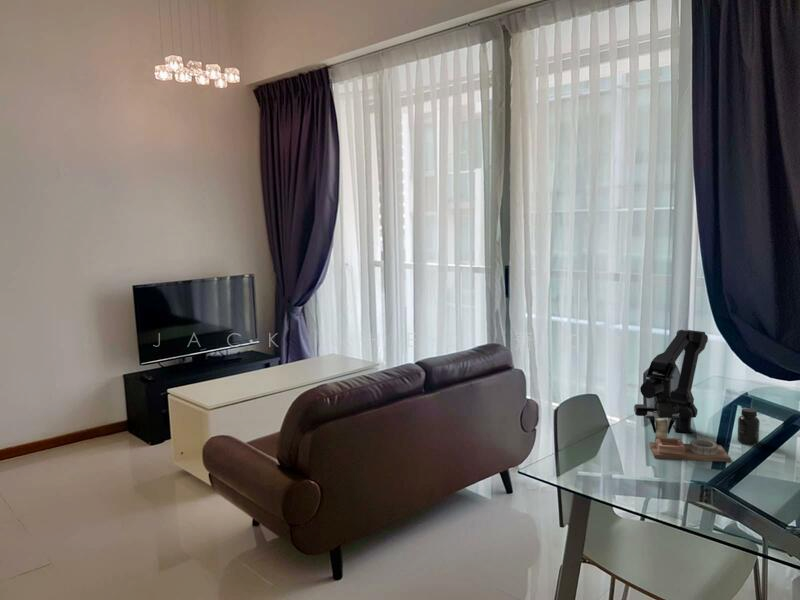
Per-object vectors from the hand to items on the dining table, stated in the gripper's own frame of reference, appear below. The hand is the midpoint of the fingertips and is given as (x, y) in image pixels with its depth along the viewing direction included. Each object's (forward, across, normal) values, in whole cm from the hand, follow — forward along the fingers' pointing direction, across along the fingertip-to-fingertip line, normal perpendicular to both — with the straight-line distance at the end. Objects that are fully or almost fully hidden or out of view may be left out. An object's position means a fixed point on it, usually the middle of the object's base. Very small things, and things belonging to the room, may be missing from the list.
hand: (661, 433), depth 228 cm
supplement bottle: (+3, +30, +3) cm, 30 cm away
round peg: (+3, 0, 0) cm, 3 cm away
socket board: (+3, +7, -11) cm, 13 cm away
